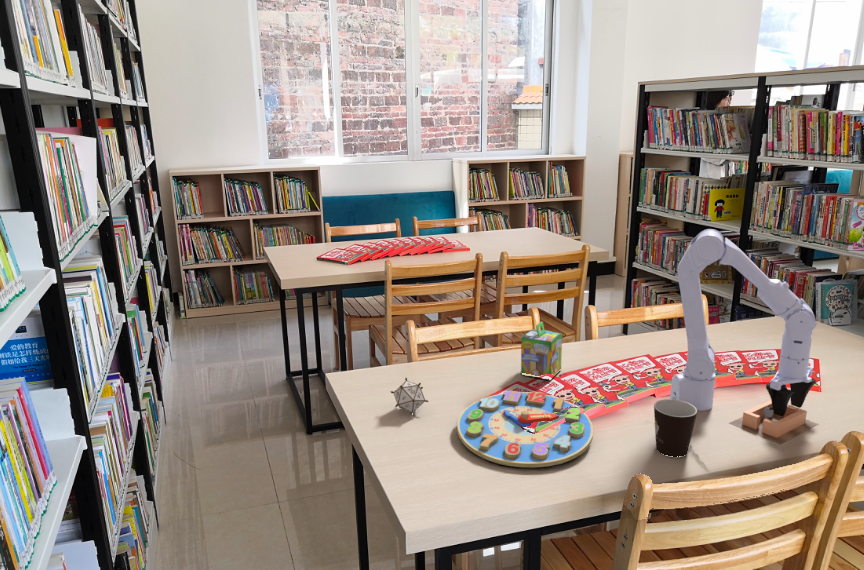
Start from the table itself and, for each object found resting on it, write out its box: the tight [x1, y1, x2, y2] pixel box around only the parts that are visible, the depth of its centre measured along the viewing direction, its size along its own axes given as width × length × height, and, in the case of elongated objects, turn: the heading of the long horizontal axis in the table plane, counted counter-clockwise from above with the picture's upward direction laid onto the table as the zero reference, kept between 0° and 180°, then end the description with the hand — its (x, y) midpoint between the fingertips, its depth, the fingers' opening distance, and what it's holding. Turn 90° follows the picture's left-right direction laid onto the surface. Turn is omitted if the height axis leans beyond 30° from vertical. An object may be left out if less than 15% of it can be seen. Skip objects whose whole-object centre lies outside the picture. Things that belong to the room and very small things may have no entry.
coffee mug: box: [653, 398, 698, 458], centre depth 136 cm, size 12×9×10 cm
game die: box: [390, 377, 429, 414], centre depth 156 cm, size 9×8×10 cm
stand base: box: [729, 414, 819, 445], centre depth 145 cm, size 16×12×1 cm
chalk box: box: [520, 321, 563, 376], centre depth 177 cm, size 9×9×15 cm
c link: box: [742, 399, 808, 438], centre depth 144 cm, size 12×8×3 cm, turn 123°
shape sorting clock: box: [456, 390, 594, 468], centre depth 143 cm, size 31×30×6 cm
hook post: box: [763, 407, 774, 420], centre depth 143 cm, size 2×2×4 cm
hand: (787, 410), depth 147 cm, fingers open, 7 cm apart
